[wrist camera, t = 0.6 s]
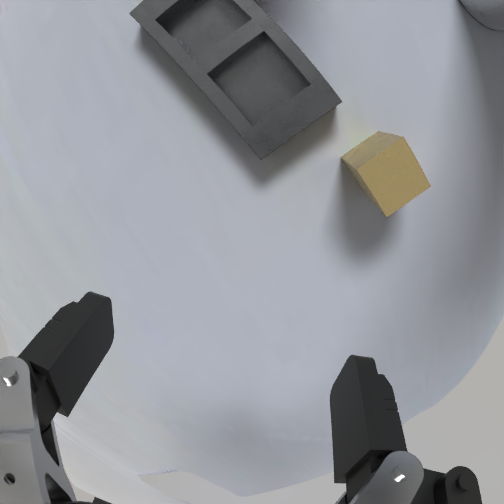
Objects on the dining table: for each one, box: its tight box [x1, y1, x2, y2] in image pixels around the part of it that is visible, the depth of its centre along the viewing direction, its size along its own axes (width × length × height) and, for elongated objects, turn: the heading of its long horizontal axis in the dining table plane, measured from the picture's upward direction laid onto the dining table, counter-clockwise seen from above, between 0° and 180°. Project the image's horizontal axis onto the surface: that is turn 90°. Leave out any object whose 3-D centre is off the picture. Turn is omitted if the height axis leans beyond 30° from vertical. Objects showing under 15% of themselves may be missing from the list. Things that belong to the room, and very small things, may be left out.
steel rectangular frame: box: [129, 0, 342, 160], centre depth 24 cm, size 9×20×3 cm, turn 39°
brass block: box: [341, 131, 431, 217], centre depth 26 cm, size 5×5×7 cm
